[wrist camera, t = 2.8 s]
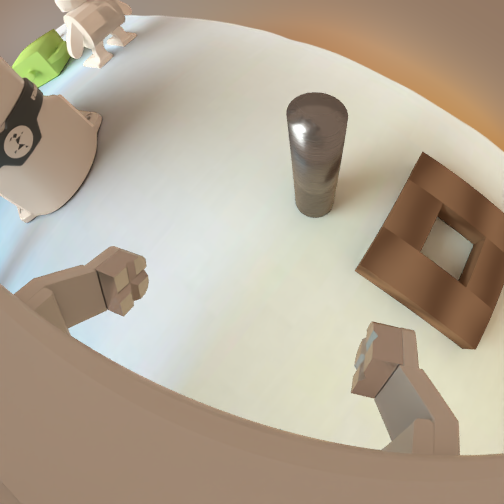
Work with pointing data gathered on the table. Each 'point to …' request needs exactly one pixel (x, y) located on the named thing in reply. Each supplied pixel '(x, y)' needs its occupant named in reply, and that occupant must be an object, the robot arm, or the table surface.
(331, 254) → the table surface
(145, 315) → the table surface
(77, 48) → the toy robot
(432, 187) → the socket plate
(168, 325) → the table surface
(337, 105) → the steel pin
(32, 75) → the lime green lipped cube
